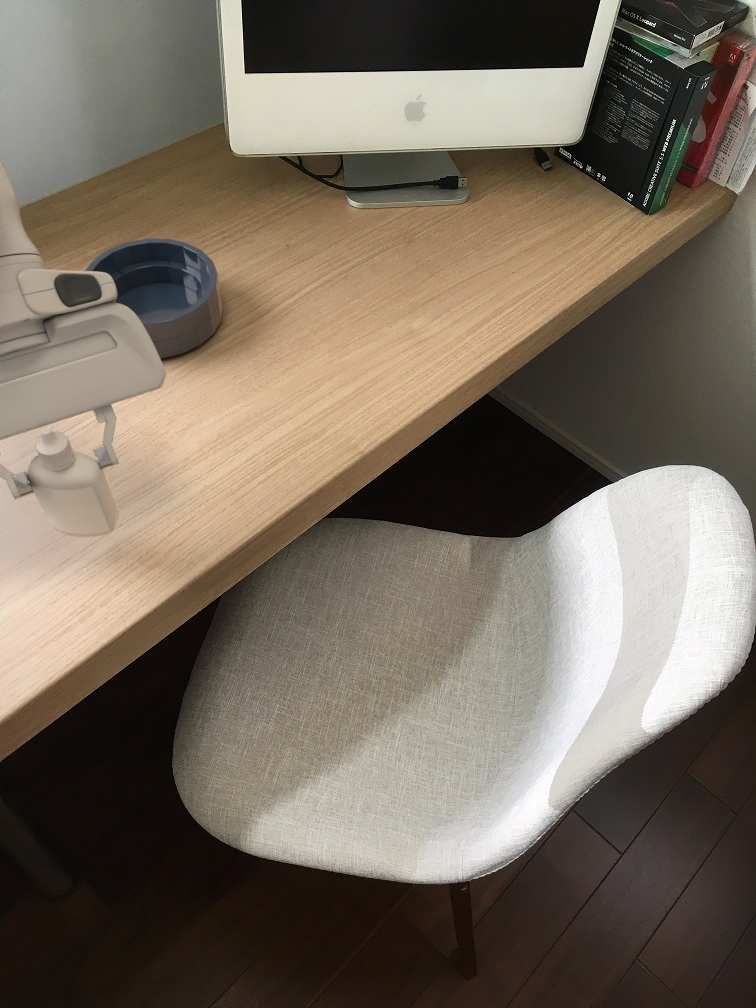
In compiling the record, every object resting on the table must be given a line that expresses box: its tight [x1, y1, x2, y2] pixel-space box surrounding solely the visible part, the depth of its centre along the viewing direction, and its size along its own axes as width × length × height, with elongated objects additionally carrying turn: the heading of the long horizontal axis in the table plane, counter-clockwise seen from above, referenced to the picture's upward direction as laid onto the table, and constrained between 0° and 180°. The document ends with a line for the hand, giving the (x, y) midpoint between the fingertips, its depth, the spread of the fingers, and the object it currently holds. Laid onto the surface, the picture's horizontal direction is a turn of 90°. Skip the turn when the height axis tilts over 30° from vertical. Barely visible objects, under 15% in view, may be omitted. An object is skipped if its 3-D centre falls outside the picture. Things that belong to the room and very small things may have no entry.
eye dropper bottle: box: [26, 426, 120, 538], centre depth 63 cm, size 4×6×12 cm
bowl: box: [84, 238, 223, 359], centre depth 88 cm, size 15×15×6 cm
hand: (68, 480), depth 63 cm, fingers closed on eye dropper bottle, 5 cm apart
